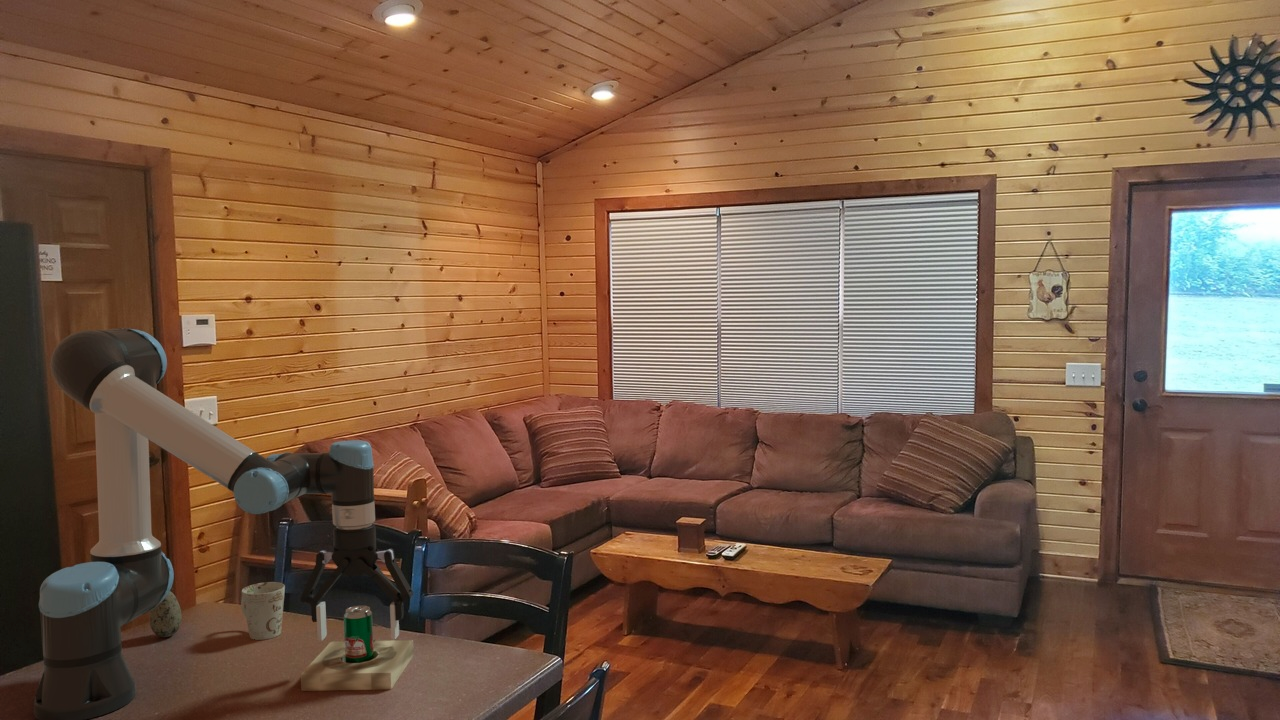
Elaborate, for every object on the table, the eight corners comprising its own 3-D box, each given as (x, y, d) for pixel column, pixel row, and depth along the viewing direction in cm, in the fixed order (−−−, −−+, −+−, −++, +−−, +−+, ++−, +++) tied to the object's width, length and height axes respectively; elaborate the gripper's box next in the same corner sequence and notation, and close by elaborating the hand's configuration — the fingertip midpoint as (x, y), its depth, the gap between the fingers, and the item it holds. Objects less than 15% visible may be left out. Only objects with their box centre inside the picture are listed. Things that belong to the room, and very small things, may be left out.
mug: (260, 645, 188) (257, 596, 188) (223, 634, 195) (221, 587, 195) (295, 632, 195) (293, 585, 195) (258, 622, 202) (256, 577, 201)
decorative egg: (168, 630, 198) (165, 584, 198) (189, 633, 196) (186, 586, 195) (144, 639, 193) (141, 592, 192) (165, 643, 190) (162, 595, 190)
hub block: (301, 690, 165) (300, 673, 165) (331, 656, 181) (331, 640, 181) (391, 689, 165) (390, 671, 165) (413, 655, 181) (413, 639, 181)
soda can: (340, 676, 171) (338, 612, 170) (354, 666, 176) (352, 604, 175) (366, 678, 170) (363, 614, 169) (379, 667, 175) (376, 605, 174)
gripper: (278, 531, 168) (283, 646, 169) (416, 528, 168) (420, 643, 169) (294, 521, 175) (299, 631, 176) (426, 518, 175) (430, 629, 176)
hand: (358, 638), depth 173 cm, fingers open, 13 cm apart
